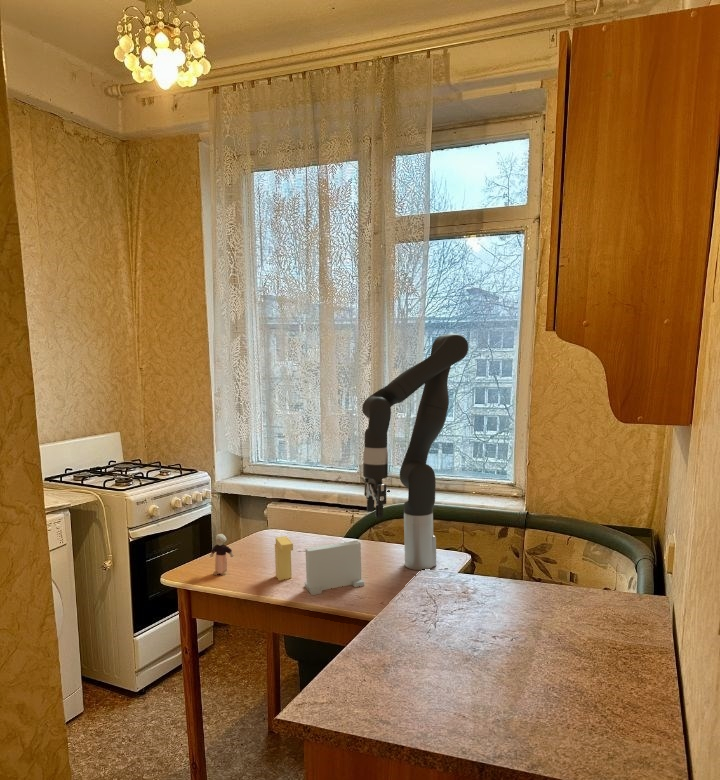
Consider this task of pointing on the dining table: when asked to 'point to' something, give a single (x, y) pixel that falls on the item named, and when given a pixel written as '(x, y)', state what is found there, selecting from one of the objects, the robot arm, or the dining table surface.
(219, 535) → the grandmother figurine
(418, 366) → the robot arm
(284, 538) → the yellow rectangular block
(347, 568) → the wall board
